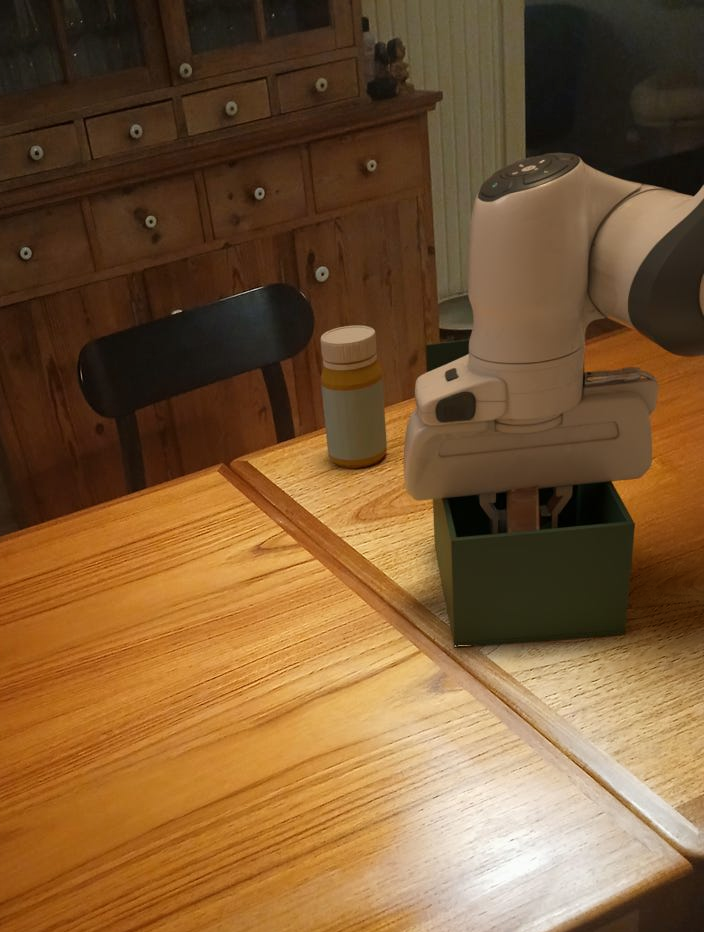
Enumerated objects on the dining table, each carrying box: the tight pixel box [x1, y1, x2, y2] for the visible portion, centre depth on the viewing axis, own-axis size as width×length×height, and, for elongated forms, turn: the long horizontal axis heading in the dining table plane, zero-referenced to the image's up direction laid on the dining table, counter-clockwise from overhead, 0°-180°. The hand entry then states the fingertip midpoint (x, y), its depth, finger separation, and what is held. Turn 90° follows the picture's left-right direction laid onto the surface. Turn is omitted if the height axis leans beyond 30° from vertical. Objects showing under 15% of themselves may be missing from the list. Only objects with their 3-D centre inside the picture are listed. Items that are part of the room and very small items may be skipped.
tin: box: [506, 485, 540, 533], centre depth 87 cm, size 15×3×8 cm, turn 166°
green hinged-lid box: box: [432, 481, 636, 647], centre depth 88 cm, size 14×18×10 cm
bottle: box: [320, 325, 388, 469], centre depth 115 cm, size 7×7×15 cm
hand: (522, 530), depth 87 cm, fingers closed on tin, 3 cm apart
